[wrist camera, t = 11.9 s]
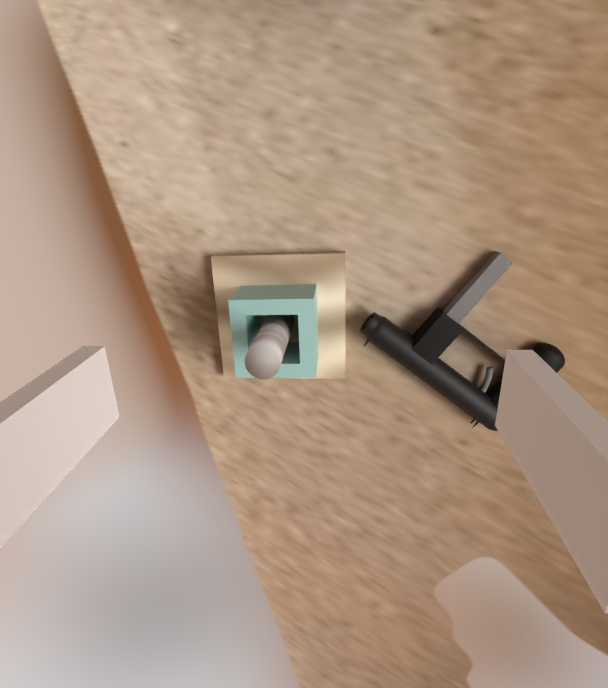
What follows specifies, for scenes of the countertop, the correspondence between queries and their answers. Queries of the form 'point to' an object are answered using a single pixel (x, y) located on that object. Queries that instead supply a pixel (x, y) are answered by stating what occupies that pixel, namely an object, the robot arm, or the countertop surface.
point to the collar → (276, 301)
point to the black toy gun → (439, 334)
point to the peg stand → (283, 328)
